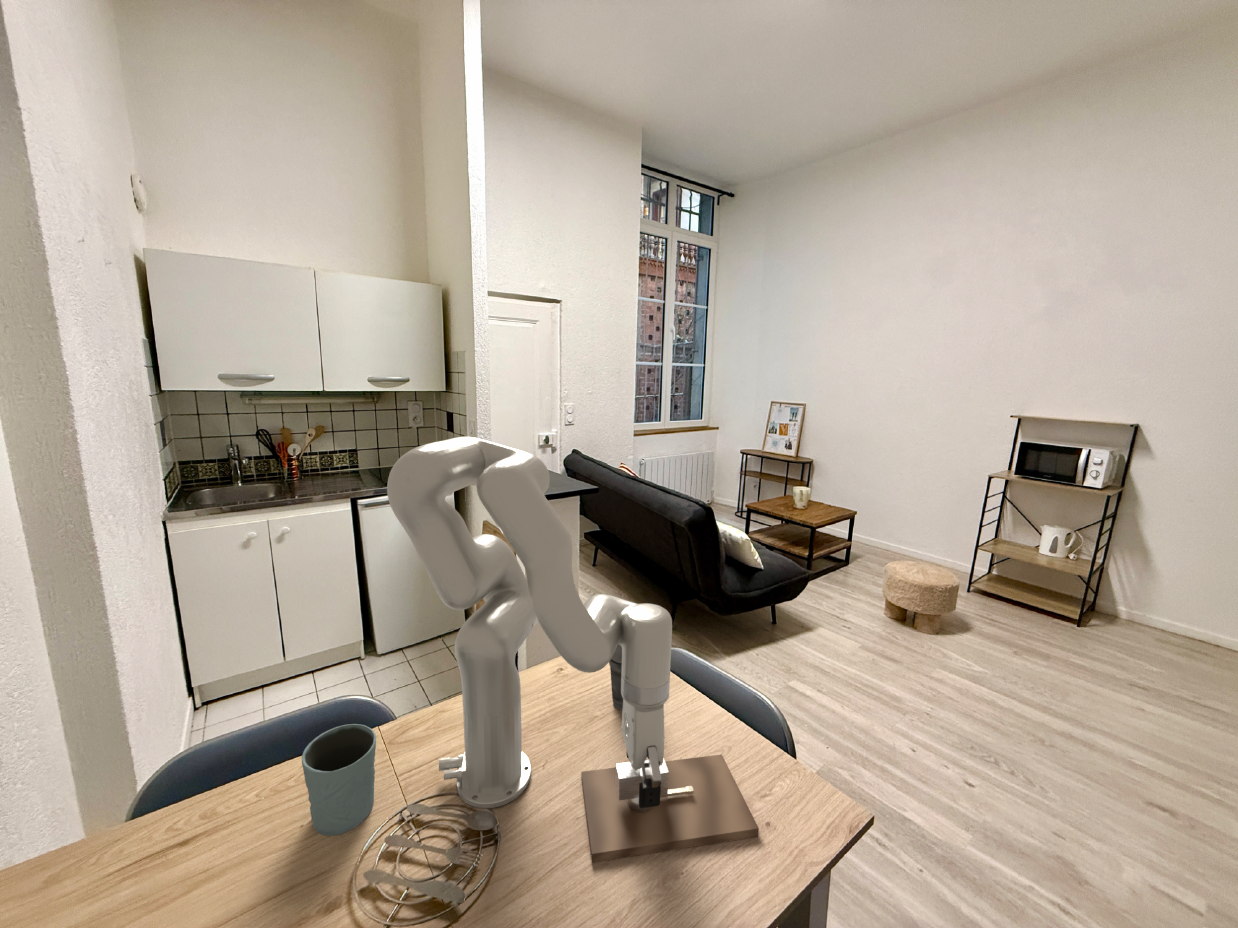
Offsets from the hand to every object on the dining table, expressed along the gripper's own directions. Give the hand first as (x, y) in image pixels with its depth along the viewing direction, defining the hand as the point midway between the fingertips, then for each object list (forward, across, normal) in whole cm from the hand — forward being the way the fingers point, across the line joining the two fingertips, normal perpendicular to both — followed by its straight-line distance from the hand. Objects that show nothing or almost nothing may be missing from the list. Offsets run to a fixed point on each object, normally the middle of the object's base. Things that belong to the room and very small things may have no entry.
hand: (642, 779), depth 79 cm
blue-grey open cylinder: (+6, -7, -47) cm, 48 cm away
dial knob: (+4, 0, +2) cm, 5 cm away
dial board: (+6, 0, +4) cm, 7 cm away
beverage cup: (+6, -26, +2) cm, 27 cm away
